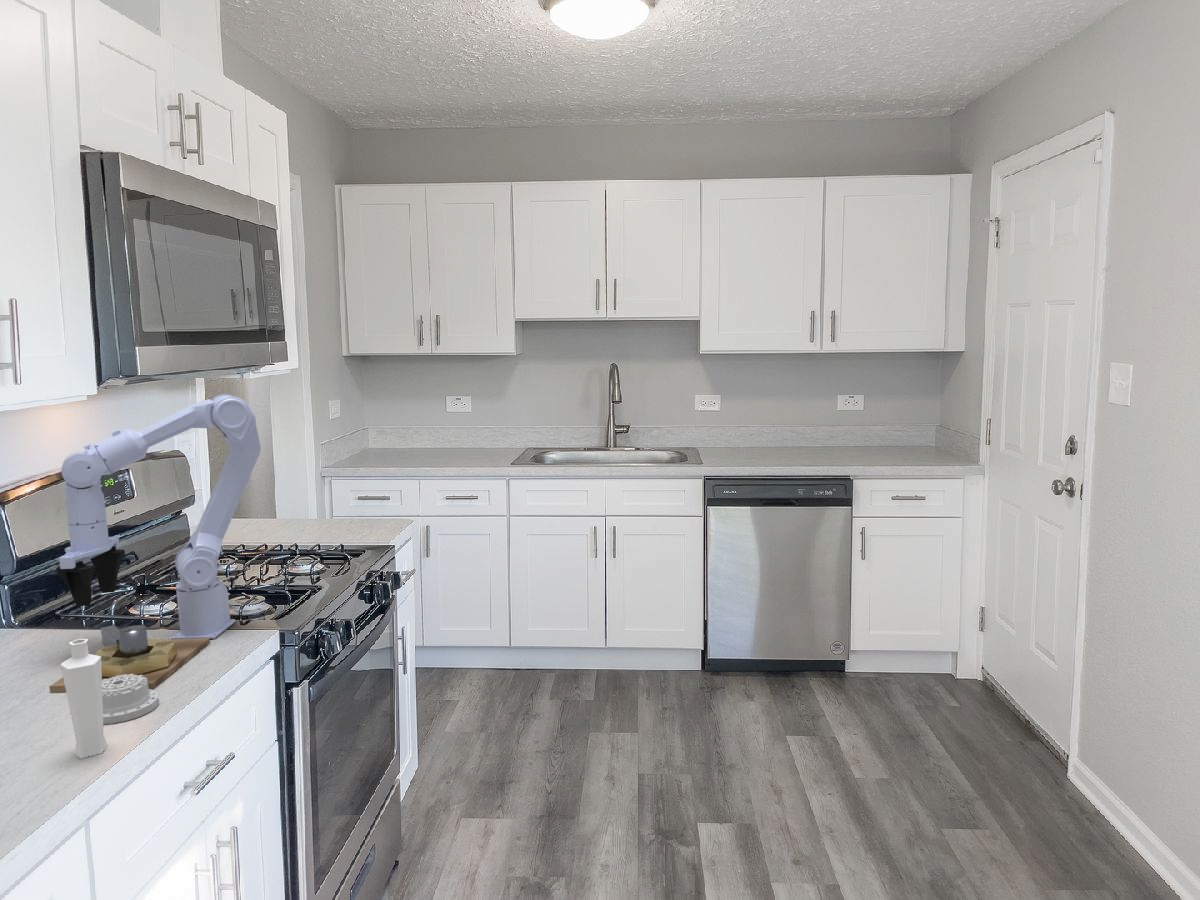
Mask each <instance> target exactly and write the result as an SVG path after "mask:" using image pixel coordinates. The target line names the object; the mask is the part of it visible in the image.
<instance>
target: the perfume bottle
mask: <svg viewBox="0 0 1200 900" xmlns="http://www.w3.org/2000/svg"><path fill="white" fill-rule="evenodd" d="M88 641H89V639H88V638H79V639H75V640H72V641H69V642H68V643H69V645H70V651H71V652H70V653H71V657H69V658H68V659H66V660H65V661H63V662H62V663H60V667H61V673H62V678H63V679H64V684H65V688H66V692H65V693H66V698H67V702H68V707H69V712H70V716H71V723H72V729H73V732H74V737H75V747H74V755H76V756H77V757H78V758H80V759H85V758H88V756H89V757H93V756H98V755H101V753H102V754H103V753H104V752H105V750H107V748H108V746H109V744H108V742H107V739H106V738H105V735H104V724H103V702H102V669H101V656H96V655H95V654H91V653H89V647H88V645H89V644H88ZM103 751H104V752H103ZM97 754H98V755H97ZM92 755H93V756H92ZM84 757H85V758H84Z"/></svg>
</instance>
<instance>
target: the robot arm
mask: <svg viewBox="0 0 1200 900" xmlns="http://www.w3.org/2000/svg"><path fill="white" fill-rule="evenodd" d="M256 422H257V416H256V415H255V414H254V412H253V411H252V409H251V408H250V406H249V404H248V403H247V402H246V401H245V400H244V399H242V398H240V397H237V396H234V395H232V394H228V393H227V394H226V393H225V394H224V393H223V394H219V395H217V396H214V397H213V398H212V399H209V398H208V399H206V400H205V399H204V400H201V401H199V402H196V403H194V404H191V405H188V406H187V407H185V408H183V409H181V410H179V411H177V412H175V413H173V414H171V415H169V416H167V417H165V418H163V419H161V420H159V421H157V422H155V423H153V424H151V425H149V426H147V427H146V428H144V429H142V430H139V431H137V430H134V429H130V428H126V429H124V430H120V428H117V429H115V430H113V431H111V436H109V437H107V438H104V439H102V440H100V441H98V442H96V443H94V444H92V445H91V443H87V444H85V445H84V446H83V448H84V451H81V450H79V451H74V452H72V453H69V454H68V455H67V456H66V457H65V459H64V460H63V462H62V466H61V475H62V478H63V480H64V481H65V485H64V493H65V494H66V496H65V498H64V499H65V506H66V507H65V508H66V516H67V518H66V519H67V525H68V532H69V544H70V546H68V547H66V548H64V552H65V554H64V555H62V556H60V557H59V558H58V559H59V566H57V567H55V568H56V574H57V575H58V576H59V577H60V578H61V579H62V581H63V582H64V583H65V585H66V587H67V588H68V590H69V591H70V595H71V596H72V600H73V602H74V604H75V606H76V607H89V606H90V605H91V603H92V583H93V576H94V572H96V573H95V574H96V577H97V582H98V587H99V589H100V592H101V593H103V594H104V593H114V592H116V588H117V587H116V586H117V582H118V577H119V576H118V575H119V571H120V566H121V564H122V561H123V559H124V557H125V555H126V552H125V549H119V548H120V537H119V536H109V529H108V522H107V513H106V512H107V511H106V503H105V495H104V493H103V491H102V486H101V485H102V484H101V479H102V476H103V475H107V476H110V475H112V474H113V473H116V472H119V471H120V470H122V469H123V468H126V467H128V466H130V465H132V464H135V463H137V462H139V461H140V460H143V459H145V458H146V455H147V452H148V449H149V448H150V447H153V446H155V445H157V444H160V443H161V442H163V441H166V440H168V439H171V438H173V437H175V436H177V435H180V434H182V433H184V432H186V431H189V430H192V429H211V430H212V429H213V426H215V427H216V428H217V429H218V430H219V432H221V433H222V435H223V437H224V438H223V439H224V440H225V441H226V443H227V445H228V448H229V450H230V451H229V453H228V455H227V458H226V459H225V462H224V465H223V467H222V469H221V472H220V474H219V476H218V479H217V481H216V483H215V486H214V488H213V490H212V492H211V494H210V497H209V500H208V502H207V504H206V506H205V509H204V511H203V513H202V515H201V518H200V521H199V522H198V525H197V526H196V527H197V528H195V531H194V532H193V533H192V534H191V536H190V537H189V540H188V542H187V544H186V545H185V546H184V547H182V549H180V550H179V551H178V553H176V556H175V560H174V565H175V566H174V567H175V569H176V571H177V572H178V577H179V579H180V580H179V581H178V582H177V584H176V585H175V590H176V600H177V601H176V602H177V609H178V612H177V613H178V622H179V628H180V629H179V631H177V632H176V633H174V635H172V636H171V637H170V639H198V638H209V639H210V640H211V639H215V638H217V637H218V636H220V635H221V634H222V633H224V631H226V630H227V629H228V628H230V627H231V626H232V625H233V624H234V623H236V619H235V618H232V619H231V614H230V613H231V612H230V603H229V602H230V601H229V592H228V588H227V585H226V584H225V583H224V582H223V581H222V580H220V579H219V578H218V576H217V575H218V573H219V572H218V571H219V569H218V559H219V557H220V556H221V552H222V546H223V540H224V538H225V535H226V533H227V531H228V529H229V525H230V524H231V521H232V519H233V517H234V514H235V512H236V510H237V508H238V505H239V503H240V500H241V498H242V496H243V493H244V491H245V490H246V489H245V488H246V487H247V484H248V481H250V480H249V479H250V477H251V475H252V472H253V470H254V467H255V466H256V463H257V461H258V459H259V456H260V453H261V442H260V437H259V433H258V429H257V423H256ZM212 424H213V425H212ZM89 560H90V561H91V563H92V565H86V563H85V562H86V561H89Z"/></svg>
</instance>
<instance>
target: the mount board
mask: <svg viewBox="0 0 1200 900" xmlns="http://www.w3.org/2000/svg"><path fill="white" fill-rule="evenodd" d="M163 640H175V641H176V644H177V653H176V655H175V656H174V658H173V660H172V661H171V663H170V664H169V666H168V667H164V668H160V669H157V670H153V671H149V672H145V673H142V674H138V676H139V675H143V677H145V678H147V681H148V689H151V690H155V688H157V687H159V686H160V685H161V684H162V683H163V682H164V681H166V680H167V679H168V678H170V677H171V676H172V675H173V674H174V673H175V671H176V672H177V671H178V670H179V669H181V668H182V667H183V666H185V665H186V664H187V663H188V662H190V660H192V659H193V658H194V657H195V656H196V654H197V653H198V652H199V651H200V650H201V651H203V650H204V649H205V648H207V647H208V646H209V645H210V644H211V641H210V640H211V639H209V638H198V639H171V638H168V639H164V638H163ZM208 644H209V645H208ZM207 645H208V646H207ZM204 647H205V648H204ZM203 648H204V649H203ZM202 649H203V650H202ZM201 651H200V652H201ZM200 652H199V653H200ZM199 653H198V654H199ZM198 654H197V655H198ZM191 658H192V659H191ZM108 678H112V677H102V681H103V679H108ZM165 679H166V680H165ZM159 684H160V685H159ZM49 693H66V688H65V684H64V679H63V677H61V678H60V679H59V680H57V681H55V682H54V683H52V684H51V685H49Z"/></svg>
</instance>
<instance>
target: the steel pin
mask: <svg viewBox="0 0 1200 900" xmlns="http://www.w3.org/2000/svg"><path fill="white" fill-rule="evenodd" d="M118 632H119V642H120V652H121V658H131V657H135V656H139V655H143V654H147V653H149V651H148V641H147V638H148V631H147V626H146V625H143V624H141V625H140V624H138V625H130V626H125V627H123V628H120V629H119V631H118Z"/></svg>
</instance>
